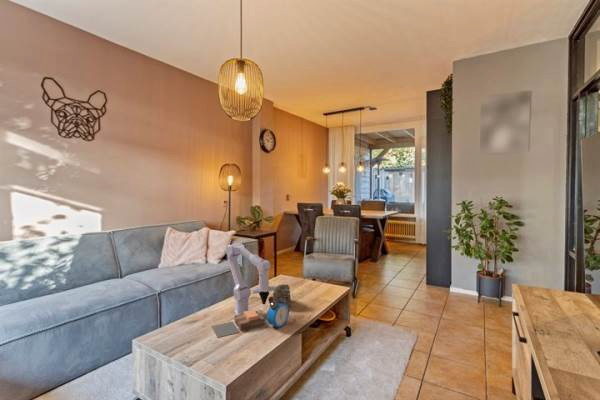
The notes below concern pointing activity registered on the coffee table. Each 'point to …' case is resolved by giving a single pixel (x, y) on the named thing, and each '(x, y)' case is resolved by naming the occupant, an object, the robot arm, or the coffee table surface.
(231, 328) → the mat
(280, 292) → the rock
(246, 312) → the peach rectangular block
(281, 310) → the alarm clock
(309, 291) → the coffee table surface
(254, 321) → the tan flat block
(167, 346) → the coffee table surface
